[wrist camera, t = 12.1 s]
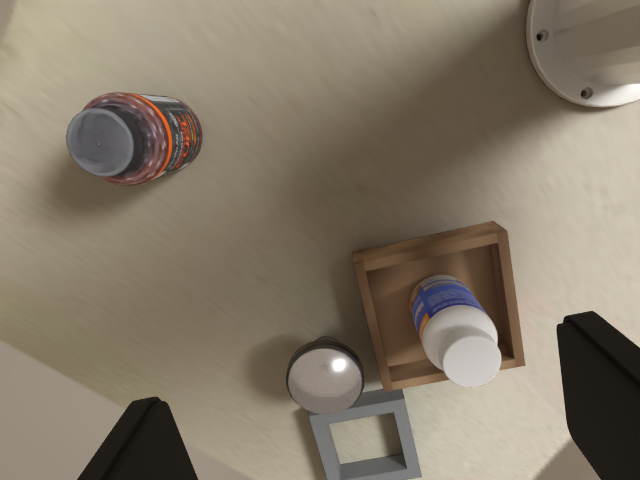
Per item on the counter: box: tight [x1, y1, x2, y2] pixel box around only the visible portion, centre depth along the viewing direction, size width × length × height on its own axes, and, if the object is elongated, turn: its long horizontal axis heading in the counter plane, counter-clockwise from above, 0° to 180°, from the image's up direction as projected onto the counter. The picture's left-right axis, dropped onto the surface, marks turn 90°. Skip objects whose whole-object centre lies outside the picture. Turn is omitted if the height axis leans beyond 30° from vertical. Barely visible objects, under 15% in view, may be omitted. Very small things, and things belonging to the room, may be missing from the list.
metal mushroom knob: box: [286, 336, 364, 414], centre depth 39 cm, size 6×6×6 cm
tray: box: [352, 221, 525, 392], centre depth 39 cm, size 12×12×3 cm
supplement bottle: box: [66, 93, 202, 186], centre depth 31 cm, size 6×6×11 cm
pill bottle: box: [409, 275, 501, 387], centre depth 35 cm, size 5×5×10 cm
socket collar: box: [309, 389, 422, 480], centre depth 43 cm, size 9×9×2 cm
